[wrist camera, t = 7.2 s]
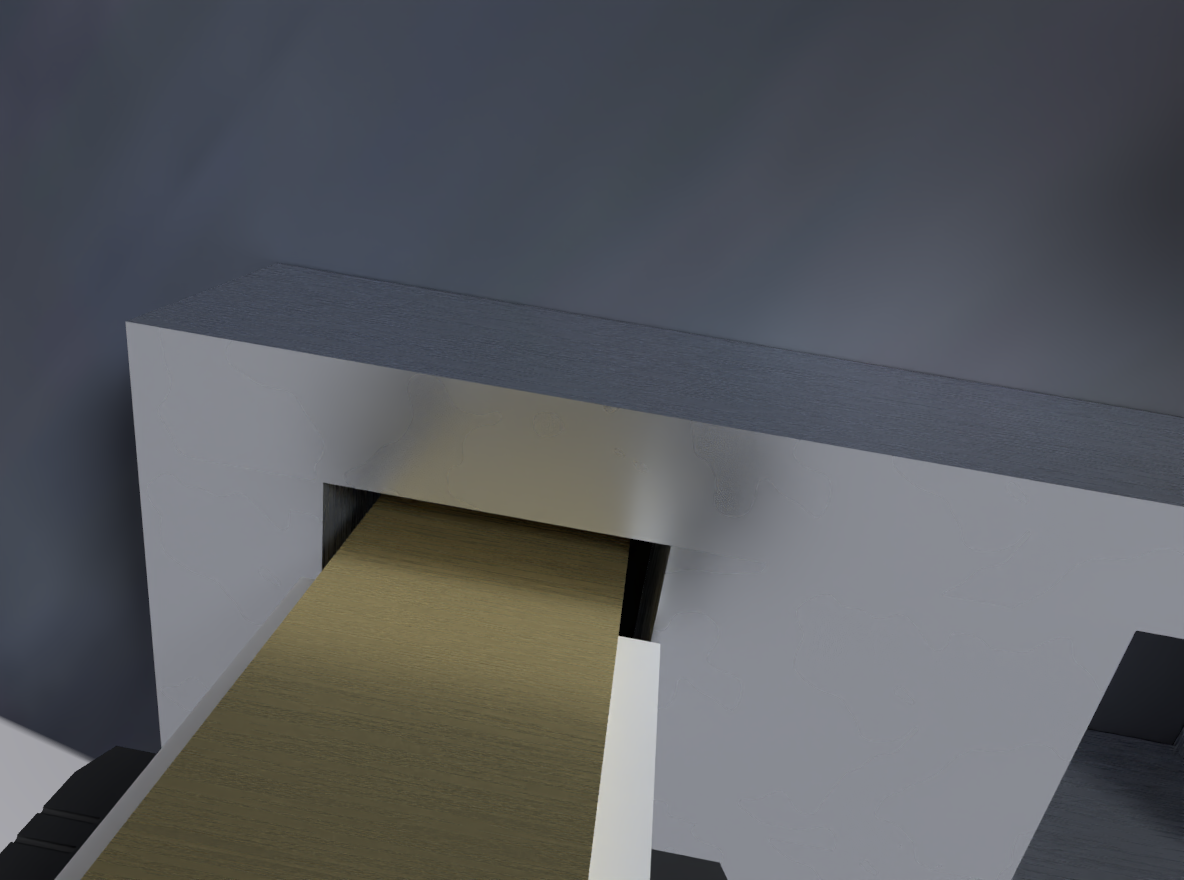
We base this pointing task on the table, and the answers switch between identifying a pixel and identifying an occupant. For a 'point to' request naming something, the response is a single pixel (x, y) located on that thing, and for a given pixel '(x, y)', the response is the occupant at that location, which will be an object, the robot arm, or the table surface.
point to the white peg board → (713, 557)
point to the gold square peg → (406, 716)
